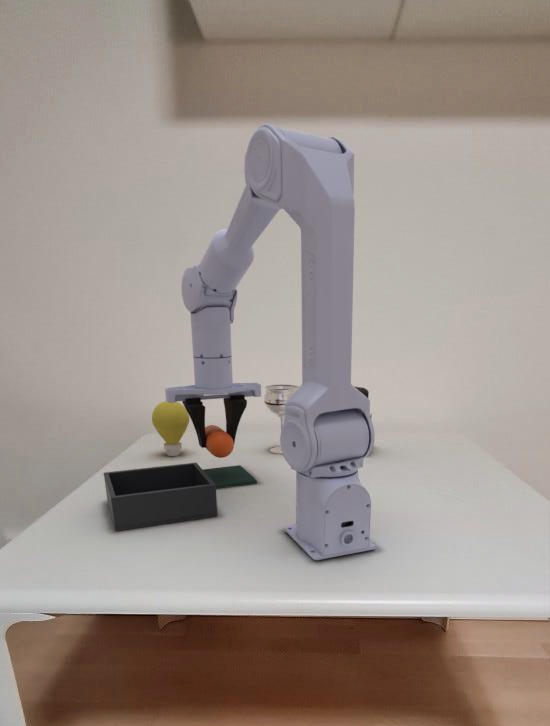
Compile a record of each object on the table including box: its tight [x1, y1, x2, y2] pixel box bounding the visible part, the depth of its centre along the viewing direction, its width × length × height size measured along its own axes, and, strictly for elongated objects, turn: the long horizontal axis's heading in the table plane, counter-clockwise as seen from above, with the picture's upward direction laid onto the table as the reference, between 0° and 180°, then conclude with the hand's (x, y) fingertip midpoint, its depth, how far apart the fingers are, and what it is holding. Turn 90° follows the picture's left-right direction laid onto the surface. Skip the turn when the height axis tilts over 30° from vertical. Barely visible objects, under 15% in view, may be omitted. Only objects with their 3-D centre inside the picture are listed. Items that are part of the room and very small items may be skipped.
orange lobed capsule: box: [205, 424, 235, 459], centre depth 86 cm, size 9×4×4 cm, turn 23°
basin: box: [103, 462, 218, 532], centre depth 75 cm, size 11×13×4 cm
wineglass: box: [263, 384, 300, 455], centre depth 103 cm, size 7×7×12 cm
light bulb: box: [151, 400, 190, 457], centre depth 100 cm, size 7×7×10 cm
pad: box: [202, 464, 258, 489], centre depth 88 cm, size 9×10×1 cm
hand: (217, 444), depth 86 cm, fingers closed on orange lobed capsule, 4 cm apart
